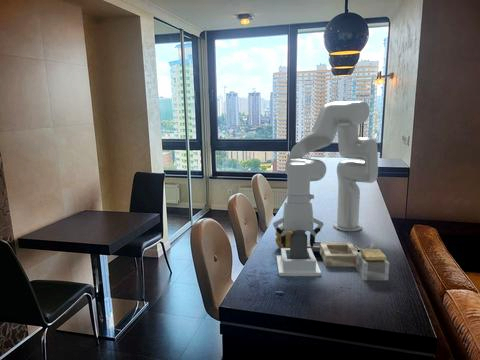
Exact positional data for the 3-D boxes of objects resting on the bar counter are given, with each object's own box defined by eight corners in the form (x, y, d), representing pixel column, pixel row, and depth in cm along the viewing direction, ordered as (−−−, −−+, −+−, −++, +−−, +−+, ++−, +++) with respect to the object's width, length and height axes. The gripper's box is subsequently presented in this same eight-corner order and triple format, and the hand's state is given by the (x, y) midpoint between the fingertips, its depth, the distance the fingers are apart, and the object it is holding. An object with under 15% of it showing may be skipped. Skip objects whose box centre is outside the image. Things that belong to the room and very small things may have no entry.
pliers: (372, 240, 144) (377, 255, 130) (372, 243, 144) (377, 259, 130) (347, 238, 147) (349, 253, 132) (347, 242, 147) (349, 256, 133)
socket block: (319, 252, 136) (320, 238, 135) (366, 252, 135) (367, 237, 134) (332, 280, 115) (332, 263, 113) (388, 280, 114) (389, 263, 113)
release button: (359, 265, 121) (360, 249, 120) (378, 265, 120) (379, 248, 119) (365, 274, 114) (366, 256, 113) (385, 274, 114) (386, 256, 113)
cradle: (276, 258, 132) (276, 246, 131) (314, 258, 131) (314, 246, 130) (279, 276, 118) (279, 263, 117) (321, 276, 118) (321, 262, 117)
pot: (297, 257, 133) (298, 232, 130) (270, 251, 139) (270, 227, 137) (309, 246, 142) (310, 223, 140) (283, 241, 148) (283, 218, 146)
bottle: (305, 259, 127) (306, 220, 124) (307, 267, 122) (308, 225, 119) (289, 259, 128) (289, 220, 125) (290, 267, 122) (291, 226, 119)
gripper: (321, 195, 123) (320, 241, 126) (272, 195, 124) (272, 241, 127) (326, 201, 116) (324, 249, 119) (273, 201, 116) (273, 250, 120)
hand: (297, 245), depth 123 cm, fingers open, 9 cm apart
